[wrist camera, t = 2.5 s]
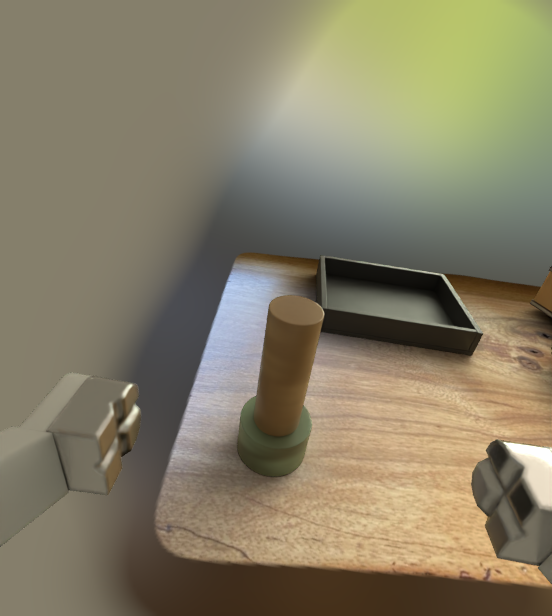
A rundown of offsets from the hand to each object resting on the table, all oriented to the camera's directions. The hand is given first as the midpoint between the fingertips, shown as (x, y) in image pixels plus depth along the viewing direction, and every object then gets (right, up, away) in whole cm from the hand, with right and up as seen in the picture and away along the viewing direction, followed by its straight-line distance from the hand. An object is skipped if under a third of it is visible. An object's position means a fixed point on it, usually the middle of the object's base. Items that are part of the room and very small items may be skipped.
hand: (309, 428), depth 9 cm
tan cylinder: (-1, -7, +19) cm, 20 cm away
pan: (+13, +3, +38) cm, 41 cm away
